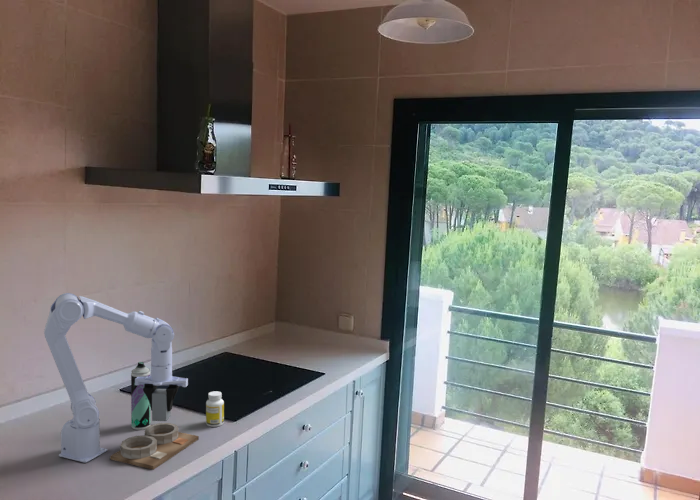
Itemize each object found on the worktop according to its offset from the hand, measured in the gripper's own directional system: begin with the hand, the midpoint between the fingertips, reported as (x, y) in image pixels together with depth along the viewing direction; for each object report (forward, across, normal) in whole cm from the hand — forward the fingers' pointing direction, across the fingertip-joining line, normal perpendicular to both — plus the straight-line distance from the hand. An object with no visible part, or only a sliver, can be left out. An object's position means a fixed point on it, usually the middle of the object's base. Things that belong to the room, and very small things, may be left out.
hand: (161, 409), depth 167 cm
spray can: (+10, -9, +9) cm, 16 cm away
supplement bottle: (+10, +12, +13) cm, 21 cm away
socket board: (+9, 0, -5) cm, 11 cm away
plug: (+2, 0, 0) cm, 3 cm away
